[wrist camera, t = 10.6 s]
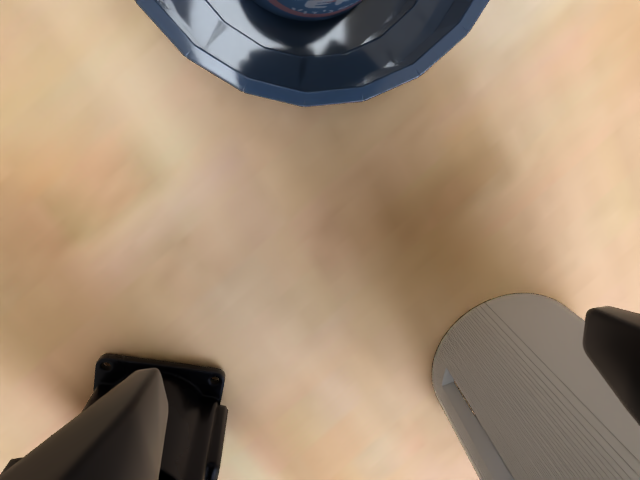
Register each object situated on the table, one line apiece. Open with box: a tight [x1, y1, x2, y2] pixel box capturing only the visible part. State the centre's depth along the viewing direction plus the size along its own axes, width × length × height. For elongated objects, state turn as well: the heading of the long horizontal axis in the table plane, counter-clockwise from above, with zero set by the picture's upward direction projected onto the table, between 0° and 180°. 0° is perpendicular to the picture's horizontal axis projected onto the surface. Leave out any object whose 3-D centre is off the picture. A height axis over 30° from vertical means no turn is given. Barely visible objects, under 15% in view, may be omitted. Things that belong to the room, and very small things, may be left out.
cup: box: [432, 293, 640, 480], centre depth 20 cm, size 9×9×12 cm
